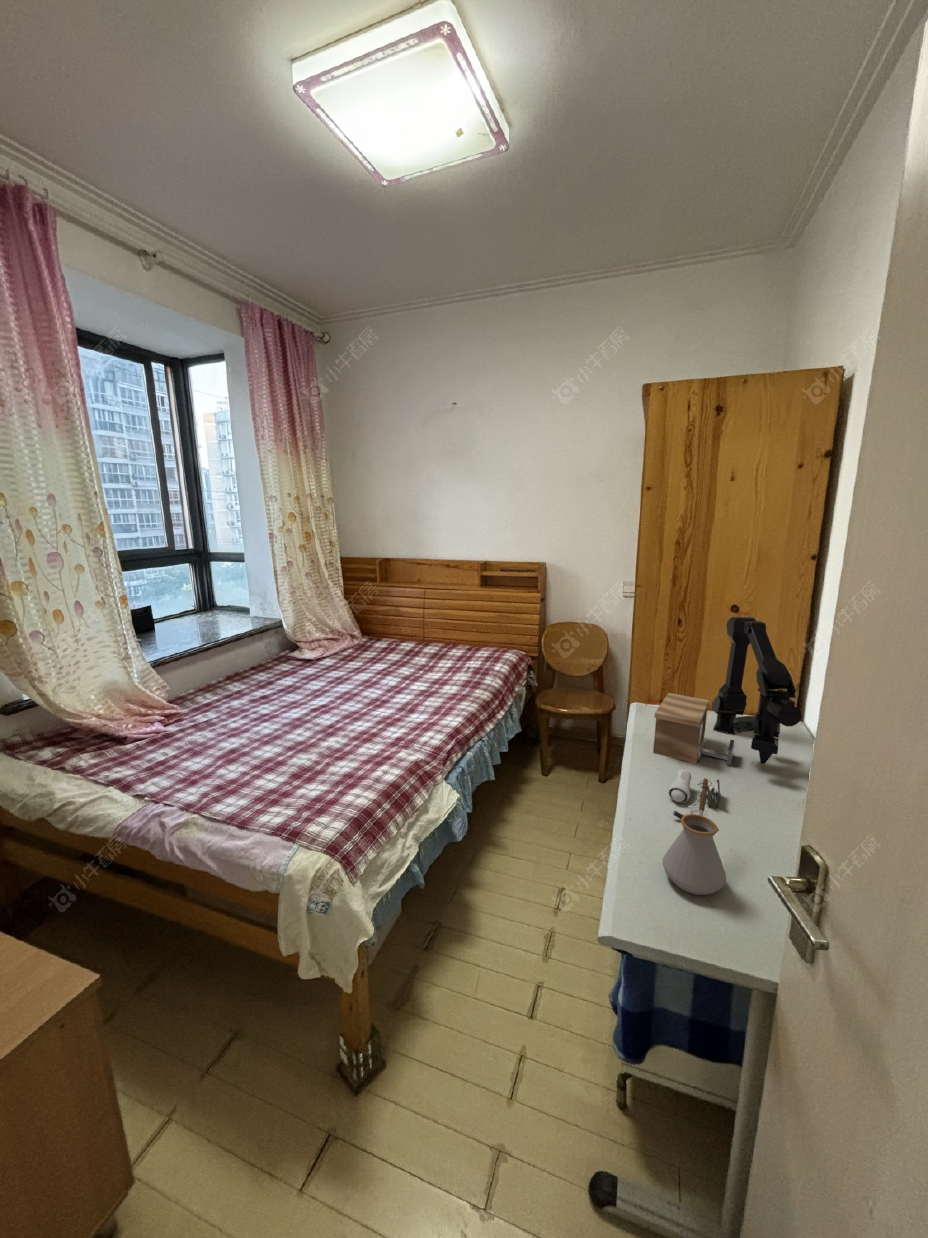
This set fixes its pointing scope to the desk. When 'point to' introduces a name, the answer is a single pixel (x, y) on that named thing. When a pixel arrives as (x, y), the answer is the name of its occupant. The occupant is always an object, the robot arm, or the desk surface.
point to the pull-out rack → (715, 753)
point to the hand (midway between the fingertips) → (762, 763)
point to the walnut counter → (680, 726)
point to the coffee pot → (696, 854)
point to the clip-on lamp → (682, 793)
